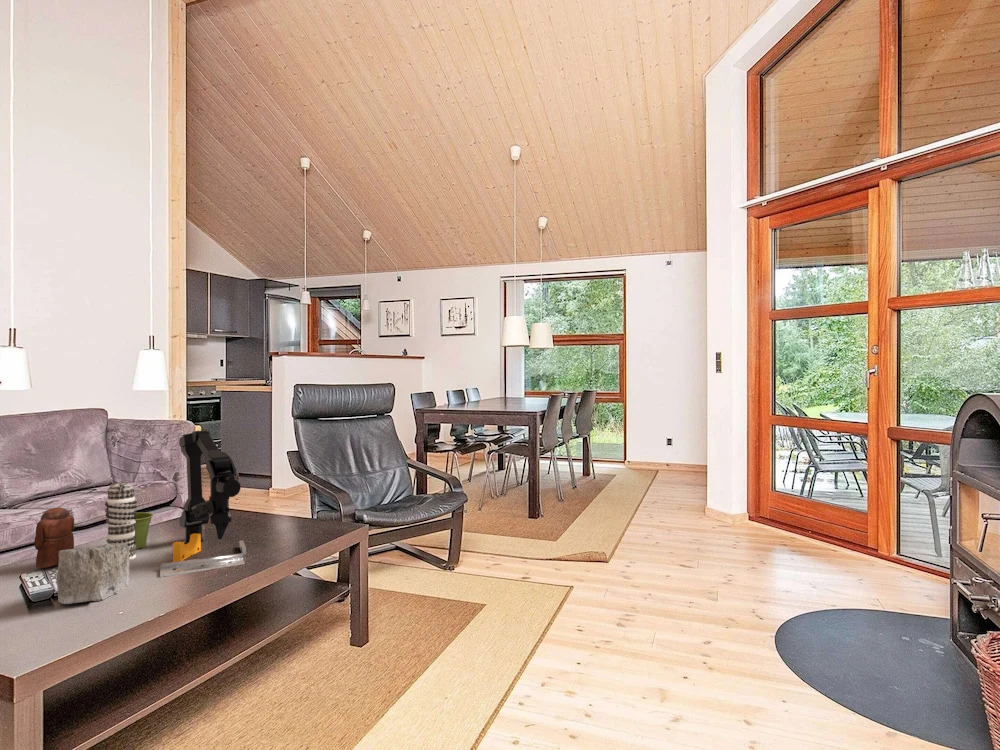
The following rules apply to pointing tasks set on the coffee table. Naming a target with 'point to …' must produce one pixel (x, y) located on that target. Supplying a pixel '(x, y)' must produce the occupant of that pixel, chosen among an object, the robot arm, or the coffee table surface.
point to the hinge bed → (203, 563)
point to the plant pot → (141, 528)
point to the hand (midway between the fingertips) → (219, 538)
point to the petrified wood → (92, 573)
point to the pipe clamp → (186, 548)
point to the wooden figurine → (53, 536)
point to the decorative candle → (121, 516)
